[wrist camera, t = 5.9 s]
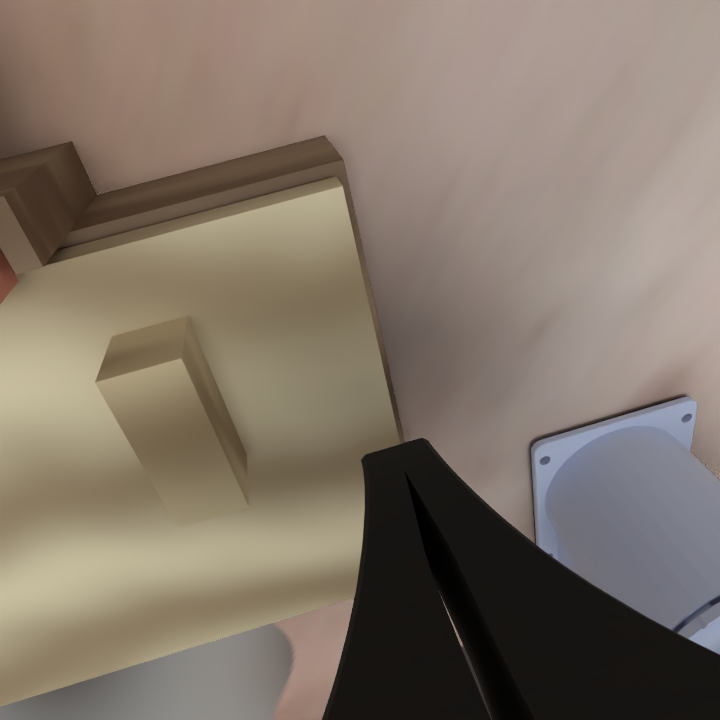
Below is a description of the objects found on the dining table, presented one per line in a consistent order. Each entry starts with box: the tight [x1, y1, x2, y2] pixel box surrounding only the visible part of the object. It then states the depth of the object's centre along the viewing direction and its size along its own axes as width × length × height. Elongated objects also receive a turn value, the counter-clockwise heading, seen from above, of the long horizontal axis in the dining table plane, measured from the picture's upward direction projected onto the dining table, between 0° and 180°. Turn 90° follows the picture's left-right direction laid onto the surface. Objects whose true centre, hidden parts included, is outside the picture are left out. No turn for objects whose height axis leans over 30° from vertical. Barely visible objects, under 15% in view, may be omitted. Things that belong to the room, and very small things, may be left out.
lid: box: [0, 177, 400, 706], centre depth 17 cm, size 15×17×3 cm
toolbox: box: [0, 136, 405, 444], centre depth 19 cm, size 18×18×6 cm
